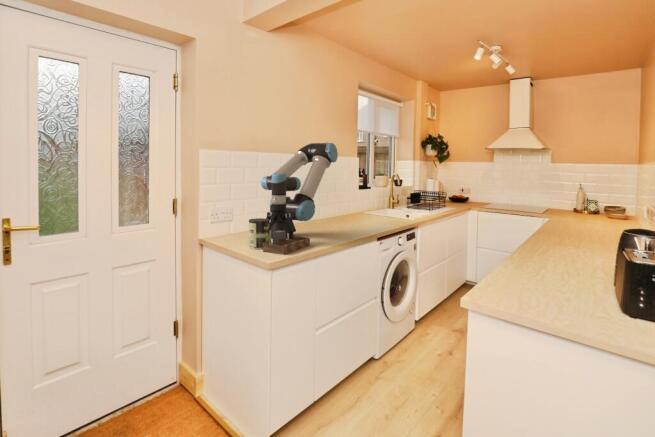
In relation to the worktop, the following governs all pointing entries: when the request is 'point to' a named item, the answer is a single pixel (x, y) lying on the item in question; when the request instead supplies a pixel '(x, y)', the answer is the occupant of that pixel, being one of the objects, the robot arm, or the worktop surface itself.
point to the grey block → (278, 236)
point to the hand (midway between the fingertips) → (279, 244)
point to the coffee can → (258, 233)
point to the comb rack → (287, 245)
